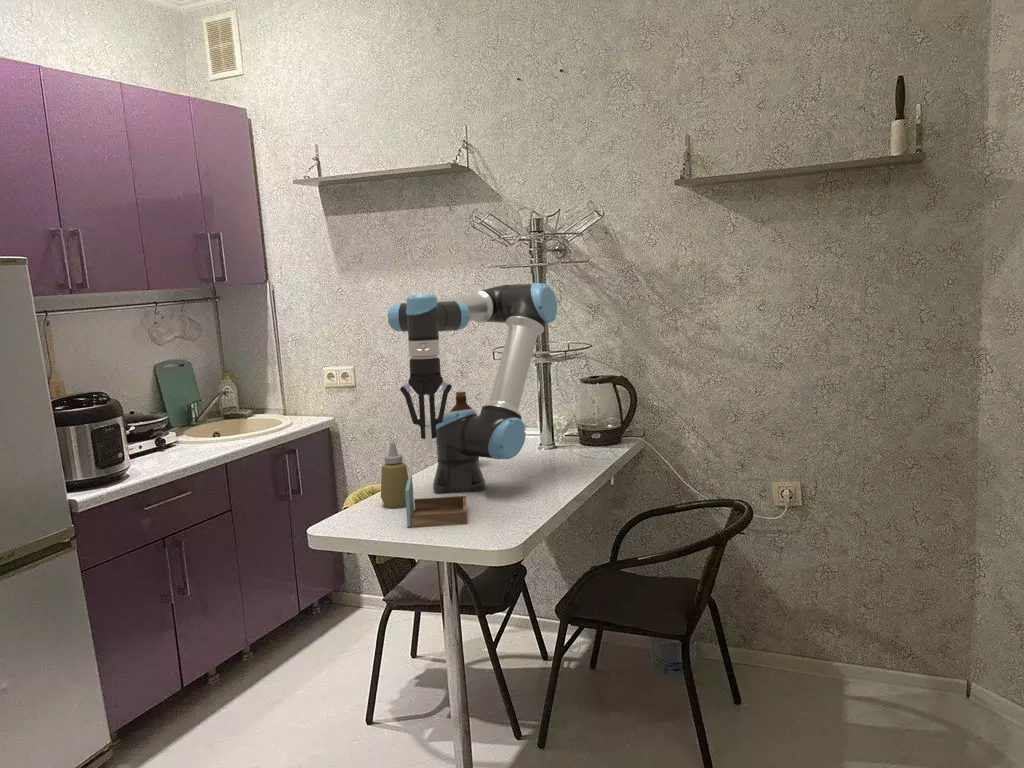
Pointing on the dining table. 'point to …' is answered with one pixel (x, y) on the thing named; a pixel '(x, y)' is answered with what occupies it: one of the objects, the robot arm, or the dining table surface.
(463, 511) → the crate
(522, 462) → the dining table surface
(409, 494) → the panel
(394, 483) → the squeeze bottle
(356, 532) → the dining table surface
